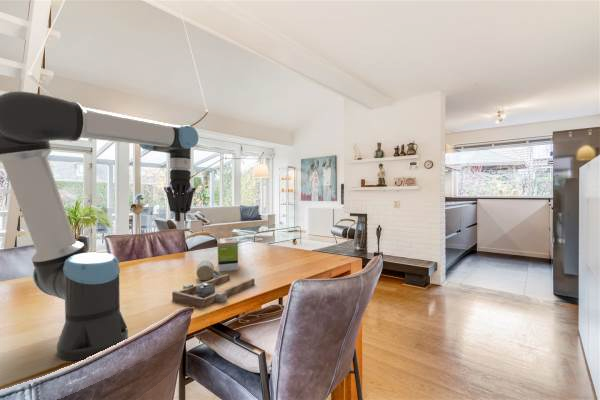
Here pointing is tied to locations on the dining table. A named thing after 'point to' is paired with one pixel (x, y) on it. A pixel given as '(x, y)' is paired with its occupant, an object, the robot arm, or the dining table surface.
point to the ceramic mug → (206, 271)
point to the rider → (205, 290)
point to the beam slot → (220, 297)
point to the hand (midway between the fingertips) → (180, 229)
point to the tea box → (227, 254)
